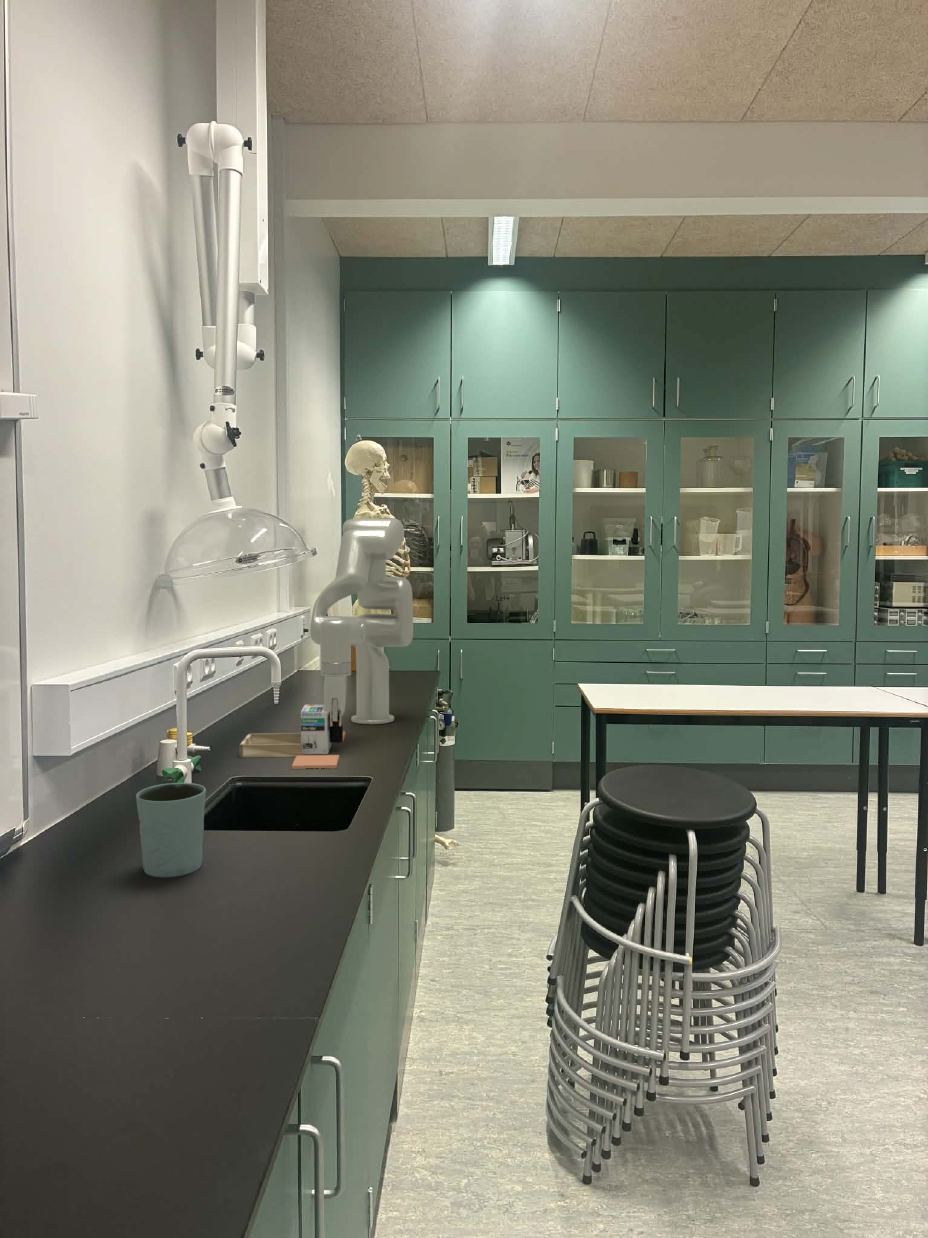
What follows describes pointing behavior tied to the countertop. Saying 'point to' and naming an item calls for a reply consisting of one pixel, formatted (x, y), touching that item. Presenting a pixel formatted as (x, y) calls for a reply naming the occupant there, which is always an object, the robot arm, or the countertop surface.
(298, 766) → the plate
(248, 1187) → the countertop surface
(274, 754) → the wooden tray
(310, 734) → the light bulb box
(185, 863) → the teal cup
